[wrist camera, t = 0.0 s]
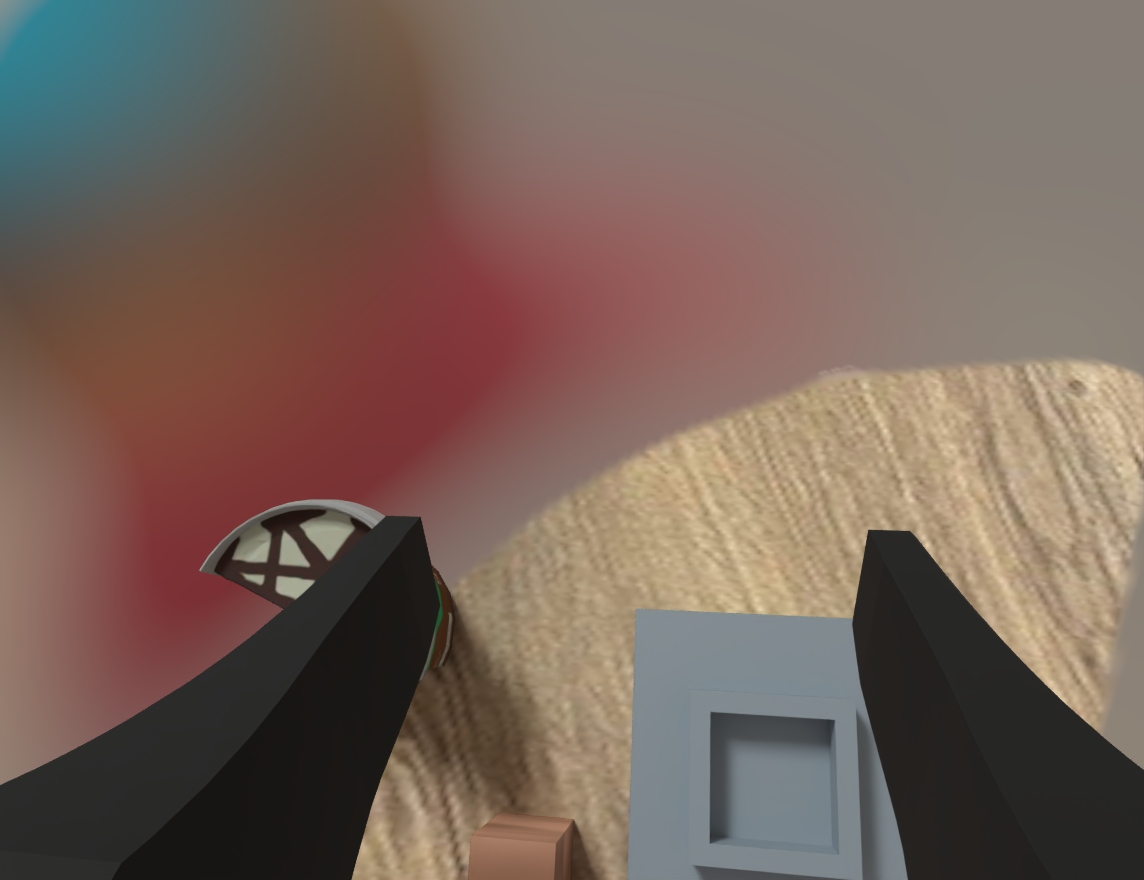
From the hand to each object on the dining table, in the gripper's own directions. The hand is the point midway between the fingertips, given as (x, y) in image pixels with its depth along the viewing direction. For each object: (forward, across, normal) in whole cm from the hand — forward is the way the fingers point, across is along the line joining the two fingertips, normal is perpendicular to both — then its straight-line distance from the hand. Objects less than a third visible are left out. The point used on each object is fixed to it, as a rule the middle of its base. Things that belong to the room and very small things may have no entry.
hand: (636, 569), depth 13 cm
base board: (+16, -5, +29) cm, 33 cm away
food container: (+23, +16, +23) cm, 36 cm away
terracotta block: (+12, +7, +32) cm, 35 cm away
